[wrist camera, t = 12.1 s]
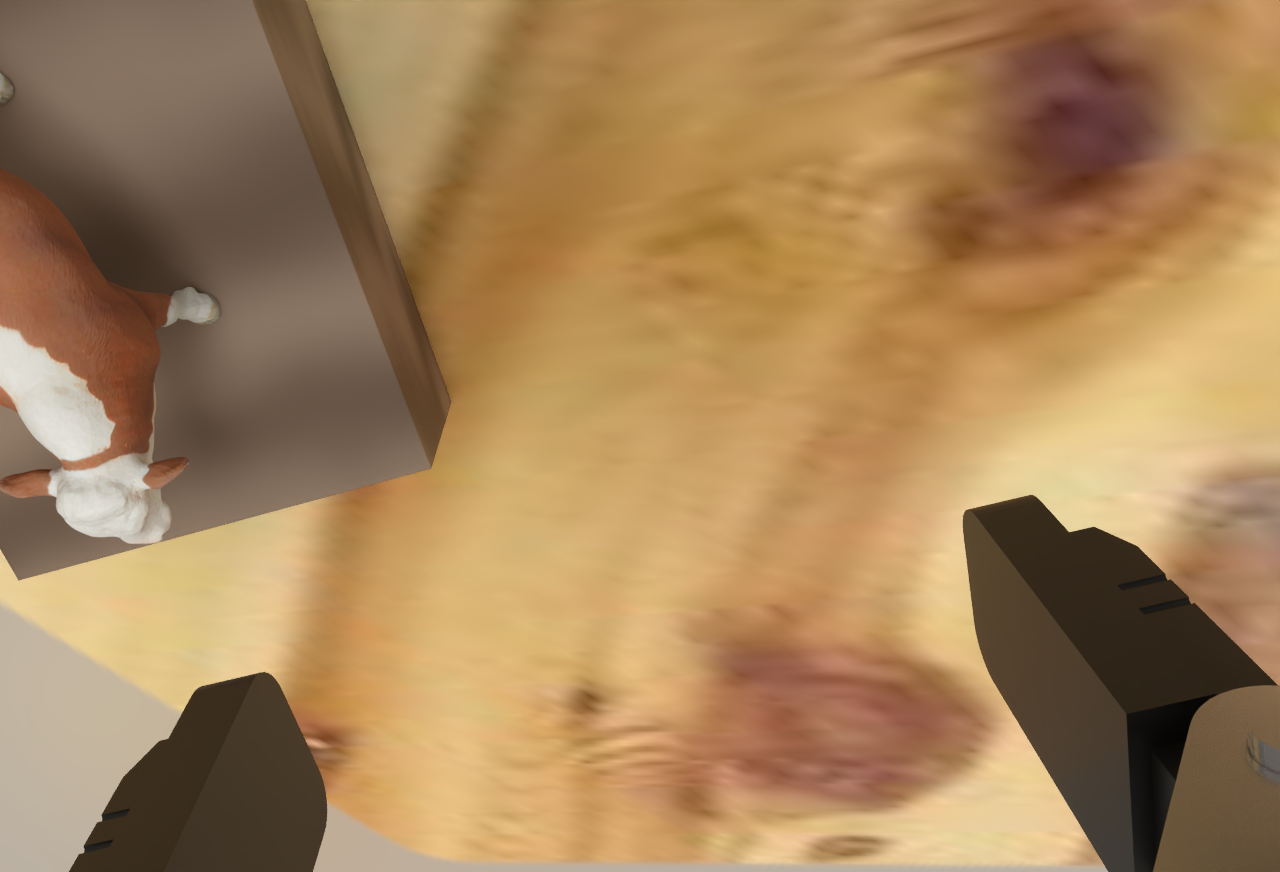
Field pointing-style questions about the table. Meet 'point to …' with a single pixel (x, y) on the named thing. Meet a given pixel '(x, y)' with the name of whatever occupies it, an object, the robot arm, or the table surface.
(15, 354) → the bull figurine
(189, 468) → the walnut block
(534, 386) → the table surface
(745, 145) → the table surface
